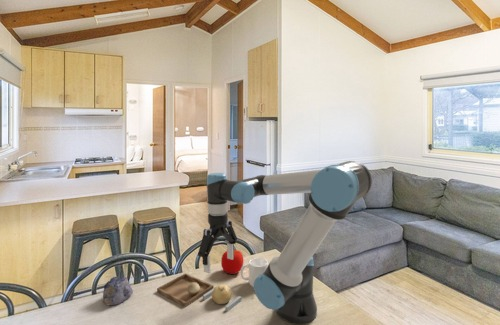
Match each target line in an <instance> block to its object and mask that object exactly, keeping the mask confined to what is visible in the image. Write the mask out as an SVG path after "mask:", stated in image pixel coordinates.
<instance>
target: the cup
mask: <svg viewBox="0 0 500 325" xmlns="http://www.w3.org/2000/svg"><path fill="white" fill-rule="evenodd" d="M268 265H269V262H268V260H267V259H266V258H262V257H254V258H252V259H250V260H248V264H243V266H242V268H241V270H240V277H241V278H242V279H243V280H244V281H248V284H249V286H251V287H252V288H254V281H255V279H256V278H257V277H258V276H259V275H260V274H262V273H264V271H265V270H266V268H267V267H268ZM245 268H248V277H247V276H245V275H244V269H245Z"/></svg>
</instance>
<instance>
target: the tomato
mask: <svg viewBox="0 0 500 325" xmlns="http://www.w3.org/2000/svg"><path fill="white" fill-rule="evenodd" d="M243 265H244V256H243V254H242V252H241V251H240V250H238V249H234V250H233V260H231V259H228V258H227V250H226V251H224V252H223V253H222V256H221V268H222V269H223V272H224V273H227V274H231V275H234V274H237V273H239V272H241V268H242V266H243Z"/></svg>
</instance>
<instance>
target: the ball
mask: <svg viewBox="0 0 500 325" xmlns="http://www.w3.org/2000/svg"><path fill="white" fill-rule="evenodd" d="M187 290H188V293H189V294H190V295H196V294H198V292H199V290H200V286H199V284H198V283H196V282H192V283H190V284H189V286H188V289H187Z"/></svg>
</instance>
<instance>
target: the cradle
mask: <svg viewBox="0 0 500 325" xmlns="http://www.w3.org/2000/svg"><path fill="white" fill-rule="evenodd" d="M217 286H218V285H217ZM217 286H215V287H217ZM215 287H214V288H215ZM214 288H213V289H212V290H210V291H209V292H207V293H206V294H204V295H203V296H202V300H204V301H207V300H208V299H209V298H210V297H212V292H213V290H214ZM240 302H242V296H240V295H238V296H236V298H235V299H233V300H231V301H229V302H228V304H225V307H224V308H225V309H224V310H225V311H226V312H229V311H231V310H232V309H233V308H234V307H235V306H237V305H238V304H240Z"/></svg>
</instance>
